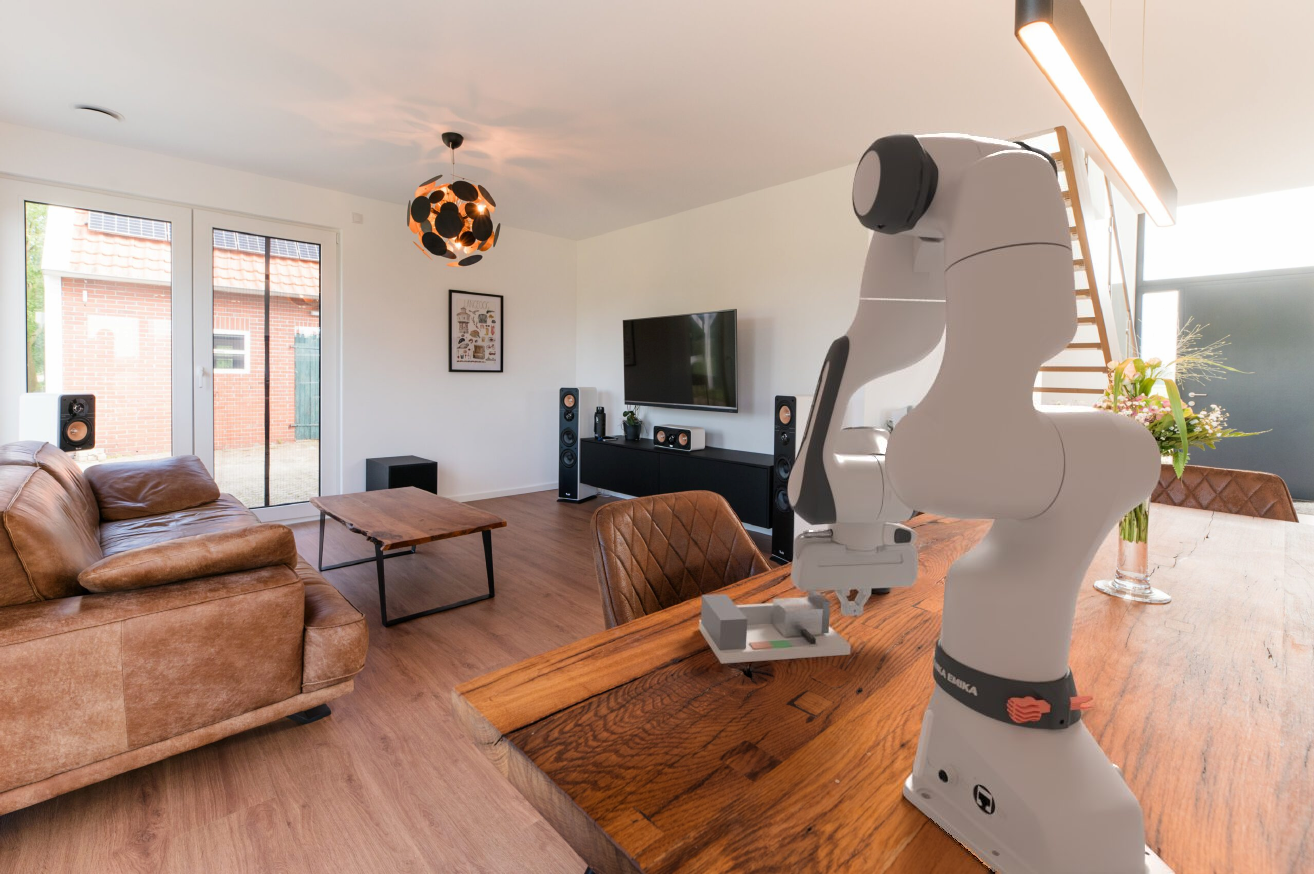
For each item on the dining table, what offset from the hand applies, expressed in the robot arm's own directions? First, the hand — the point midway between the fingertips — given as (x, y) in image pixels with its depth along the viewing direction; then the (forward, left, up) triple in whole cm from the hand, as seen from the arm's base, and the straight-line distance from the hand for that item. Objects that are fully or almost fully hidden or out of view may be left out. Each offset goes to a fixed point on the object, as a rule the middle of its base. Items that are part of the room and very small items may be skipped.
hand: (851, 614), depth 99 cm
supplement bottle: (+20, -16, -4) cm, 26 cm away
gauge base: (0, +13, -4) cm, 14 cm away
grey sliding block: (-2, +9, -2) cm, 9 cm away
